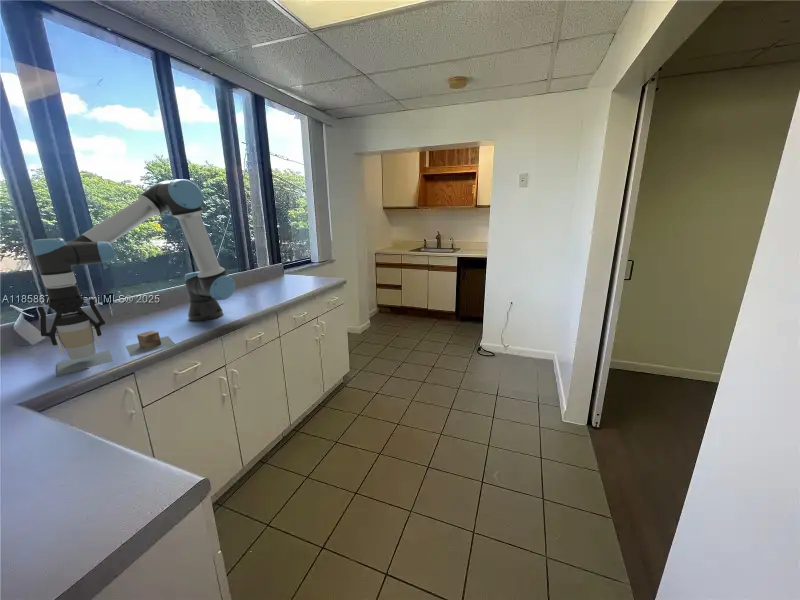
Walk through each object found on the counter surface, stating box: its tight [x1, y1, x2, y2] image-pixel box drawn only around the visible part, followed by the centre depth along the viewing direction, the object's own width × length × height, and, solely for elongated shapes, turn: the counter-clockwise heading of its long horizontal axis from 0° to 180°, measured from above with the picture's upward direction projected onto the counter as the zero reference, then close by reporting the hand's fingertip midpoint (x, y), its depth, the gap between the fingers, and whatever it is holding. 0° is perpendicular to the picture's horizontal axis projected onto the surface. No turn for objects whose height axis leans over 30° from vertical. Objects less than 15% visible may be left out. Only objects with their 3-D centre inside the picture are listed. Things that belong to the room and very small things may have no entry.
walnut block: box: [136, 330, 161, 349], centre depth 128 cm, size 5×5×5 cm
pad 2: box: [125, 335, 176, 357], centre depth 128 cm, size 14×14×1 cm
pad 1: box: [56, 349, 114, 377], centre depth 116 cm, size 14×14×1 cm
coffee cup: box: [54, 312, 97, 360], centre depth 113 cm, size 9×9×15 cm
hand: (81, 348), depth 114 cm, fingers closed on coffee cup, 8 cm apart
